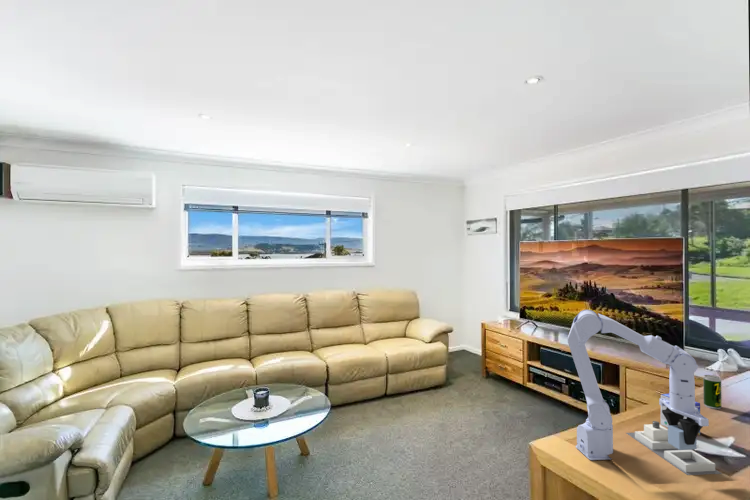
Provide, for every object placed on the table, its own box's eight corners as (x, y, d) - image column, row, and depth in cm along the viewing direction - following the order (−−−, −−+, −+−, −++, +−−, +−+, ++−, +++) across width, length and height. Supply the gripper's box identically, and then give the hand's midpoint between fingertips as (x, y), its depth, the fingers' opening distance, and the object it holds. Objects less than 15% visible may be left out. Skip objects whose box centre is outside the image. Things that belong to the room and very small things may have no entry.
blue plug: (679, 449, 107) (679, 426, 107) (668, 442, 111) (667, 420, 111) (696, 449, 107) (696, 425, 107) (684, 442, 111) (684, 419, 111)
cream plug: (653, 446, 119) (653, 425, 119) (643, 439, 123) (643, 419, 123) (668, 445, 120) (668, 424, 120) (658, 439, 124) (658, 419, 124)
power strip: (687, 480, 104) (687, 467, 104) (625, 437, 128) (625, 426, 128) (722, 479, 105) (722, 466, 105) (654, 436, 129) (654, 425, 129)
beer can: (700, 405, 153) (700, 375, 153) (707, 403, 155) (706, 373, 155) (717, 410, 148) (717, 379, 148) (724, 407, 150) (723, 377, 150)
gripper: (719, 402, 102) (720, 452, 102) (674, 383, 117) (675, 427, 117) (693, 403, 102) (694, 453, 102) (652, 384, 116) (653, 428, 116)
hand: (682, 440), depth 109 cm, fingers closed on blue plug, 4 cm apart
